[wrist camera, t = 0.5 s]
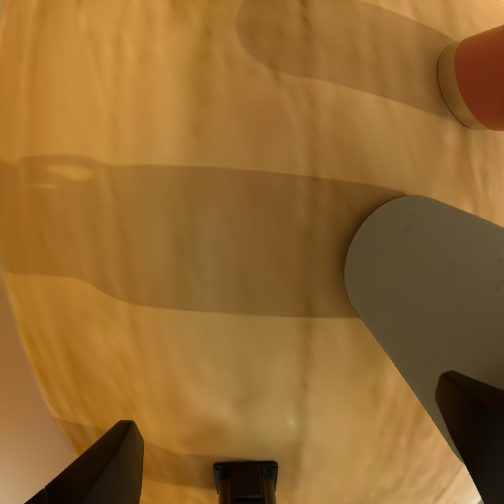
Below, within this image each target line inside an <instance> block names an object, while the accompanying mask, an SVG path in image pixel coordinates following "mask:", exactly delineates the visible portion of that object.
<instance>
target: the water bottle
mask: <svg viewBox="0 0 504 504" xmlns="http://www.w3.org/2000/svg"><path fill="white" fill-rule="evenodd" d="M344 280H345V289H346V292H347V295H348V298H349V301H350V303H351V305H352V306H353V308H354V309H355V311H356V312H357V314H358V315H359V316H360V318H361V319H362V320H363V322H364V323H365V324H366V326H367V327H368V328H369V330H370V331H371V333H372V334H373V335H374V337H375V338H376V339H377V341H378V342H379V344H380V345H381V346H382V348H383V349H384V351H385V352H386V353H387V355H388V356H389V358H390V359H391V360H392V362H393V363H394V365H395V366H396V367H397V369H398V370H399V372H400V373H401V375H402V376H403V377H404V379H405V380H406V382H407V383H408V385H409V386H410V387H411V389H412V390H413V392H414V393H415V395H416V396H417V398H418V399H419V401H420V402H421V404H422V405H423V407H424V408H425V409H426V411H427V412H428V414H429V415H430V417H431V418H432V420H433V421H434V423H435V424H436V426H437V428H438V429H439V431H440V432H441V434H442V435H443V437H444V438H445V440H446V441H447V443H448V444H449V446H450V447H451V449H452V451H453V452H454V453H455V455H456V456H457V457H458V458H459V460H460V461H461V462H463V460H462V458H461V456H460V454H459V452H458V450H457V448H456V447H455V445H454V443H453V441H452V439H451V437H450V435H449V432H448V430H447V428H446V425H445V423H444V420H443V418H442V415H441V413H440V410H439V408H438V406H437V403H436V401H435V396H434V395H435V390H436V386H437V382H438V379H439V376H440V374H441V373H444V372H446V371H449V370H454V371H456V372H459V373H461V374H464V375H466V376H469V377H471V378H474V379H476V380H479V381H481V382H484V383H487V384H489V385H492V386H494V387H497V388H499V389H502V390H504V228H503V227H501V226H498V225H496V224H494V223H492V222H489V221H487V220H485V219H482V218H480V217H478V216H475V215H473V214H470V213H468V212H465V211H463V210H460V209H458V208H455V207H453V206H450V205H448V204H445V203H442V202H440V201H437V200H434V199H432V198H428V197H424V196H412V195H409V196H403V197H399V198H395V199H393V200H391V201H389V202H387V203H385V204H383V205H382V206H381V207H379V208H378V209H377V210H375V211H374V212H373V213H372V214H371V215H370V216H369V217H368V218H367V219H366V220H365V221H364V222H363V223H362V225H361V227H360V228H359V230H358V231H357V233H356V234H355V236H354V238H353V240H352V242H351V245H350V247H349V249H348V253H347V257H346V261H345V270H344ZM463 463H464V462H463Z"/></svg>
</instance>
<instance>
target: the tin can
mask: <svg viewBox="0 0 504 504" xmlns="http://www.w3.org/2000/svg"><path fill="white" fill-rule="evenodd" d="M438 82H439V86H440V90H441V93H442V95H443V98H444V100H445V102H446V104H447V106H448V107H449V109H450V111H451V112H452V113H453V115H454V116H455V117H456V118H457V119H458V120H459V121H460V122H461V123H463V124H464V125H465V126H467V127H469V128H471V129H475V130H494V131H504V25H502V26H499V27H496V28H493V29H490V30H487V31H485V32H482V33H479V34H476V35H474V36H471V37H468V38H466V39H464V40H463V41H461V42H458V43H456V44H453V45H451V46H449V47H447V48H446V49H445V50H444V51H443V52H442V54H441V56H440V59H439V62H438Z"/></svg>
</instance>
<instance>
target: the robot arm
mask: <svg viewBox="0 0 504 504" xmlns="http://www.w3.org/2000/svg"><path fill="white" fill-rule="evenodd" d="M434 396H435V401H436V403H437V406H438V408H439V410H440V413H441V415H442V418H443V420H444V423H445V425H446V428H447V430H448V432H449V435H450V437H451V439H452V441H453V443H454V445H455V447H456V448H457V450H458V452H459V454H460V456H461V458H462V460H463V462H464V464H465V466H466V468H467V470H468V472H469V474H470V475H471V477H472V479H473V482H474V484H475V486H476V488H477V490H478V492H479V494H480V496H481V498H482V500H483V502H484V504H504V390H502V389H499V388H497V387H494V386H492V385H489V384H487V383H484V382H481V381H479V380H476V379H474V378H471V377H469V376H466V375H464V374H461V373H459V372H456V371H454V370H449V371H446V372H444V373H441V374H440V376H439V379H438V382H437V386H436V390H435V395H434ZM143 455H144V441H143V438H142V436H141V434H140V432H139V429H138V427H137V425H136V423H135V422H134V421H132V420H120V421H118V422H117V423H116V424H115V425H114V426H113V427H112V428H111V429H110V430H108V431H107V432H106V433H105V434H104V435H103V436H102V437H101V438H100V439H99V440H97V441H96V442H95V443H94V444H93V445H92V446H91V447H90V448H88V449H87V450H86V451H85V452H84V453H83V454H82V455H81V456H79V457H78V458H77V459H76V460H75V461H74V462H73V463H72V464H70V465H69V466H68V467H67V468H66V469H65V470H64V471H63V472H61V473H60V474H59V475H58V476H57V477H56V478H54V479H53V480H52V481H51V482H50V483H49V484H47V485H46V486H45V489H44V488H43V489H42V490H40V491H39V492H38V493H37V494H36V495H34V496H33V497H32V498H31V499H29V500H28V501H27V502H26V503H24V504H139V501H140V495H141V488H142V472H143ZM213 472H214V478H215V484H216V490H217V494H218V495H219V504H276V499H275V491H276V482H277V473H278V463H277V462H260V463H217V464H214V465H213Z"/></svg>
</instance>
